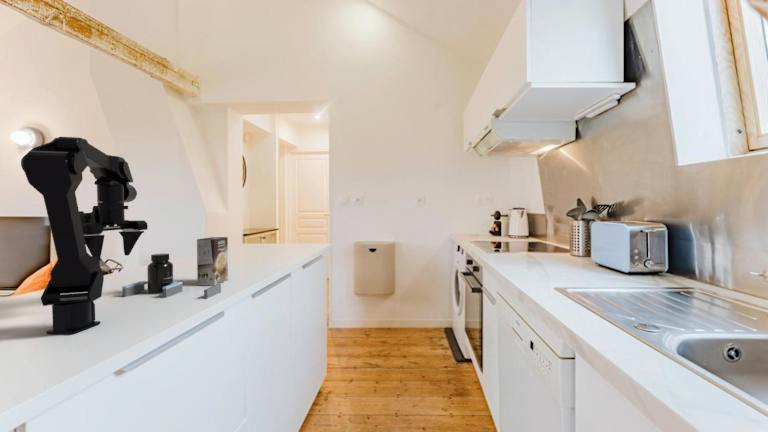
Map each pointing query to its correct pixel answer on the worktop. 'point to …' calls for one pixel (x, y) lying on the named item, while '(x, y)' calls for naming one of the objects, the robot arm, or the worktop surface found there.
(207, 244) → the coffee box
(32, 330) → the worktop surface
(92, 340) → the worktop surface
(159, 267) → the supplement bottle
